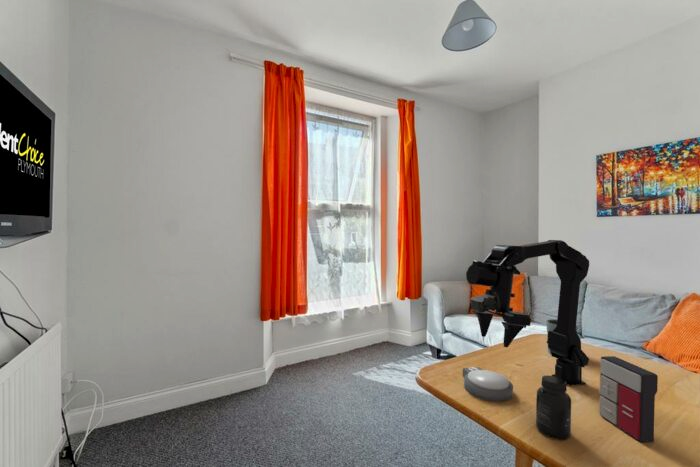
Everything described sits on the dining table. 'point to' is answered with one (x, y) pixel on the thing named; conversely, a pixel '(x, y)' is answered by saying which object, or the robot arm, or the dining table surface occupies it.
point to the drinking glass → (551, 326)
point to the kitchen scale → (487, 385)
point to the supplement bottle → (553, 408)
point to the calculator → (628, 397)
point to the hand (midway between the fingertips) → (494, 341)
